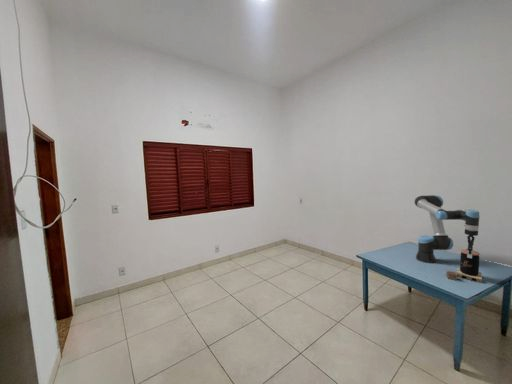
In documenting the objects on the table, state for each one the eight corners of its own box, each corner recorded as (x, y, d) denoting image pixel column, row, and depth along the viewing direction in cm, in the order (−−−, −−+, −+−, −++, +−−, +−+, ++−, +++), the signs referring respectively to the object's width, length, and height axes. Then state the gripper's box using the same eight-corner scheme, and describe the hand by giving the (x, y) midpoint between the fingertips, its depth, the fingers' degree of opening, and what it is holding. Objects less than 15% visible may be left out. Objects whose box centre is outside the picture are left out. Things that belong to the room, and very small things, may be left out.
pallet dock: (457, 270, 180) (457, 267, 180) (481, 276, 170) (481, 272, 170) (456, 277, 171) (456, 273, 170) (481, 283, 160) (482, 279, 160)
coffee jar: (456, 270, 176) (457, 249, 174) (469, 269, 175) (470, 249, 174) (468, 276, 165) (469, 254, 163) (482, 276, 165) (483, 254, 163)
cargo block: (446, 276, 173) (446, 270, 172) (454, 277, 170) (454, 271, 170) (448, 279, 168) (448, 273, 168) (456, 280, 166) (456, 274, 165)
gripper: (465, 225, 178) (463, 249, 180) (464, 232, 161) (462, 258, 163) (477, 226, 173) (476, 251, 175) (478, 234, 155) (476, 261, 158)
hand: (469, 255), depth 169 cm, fingers open, 13 cm apart
